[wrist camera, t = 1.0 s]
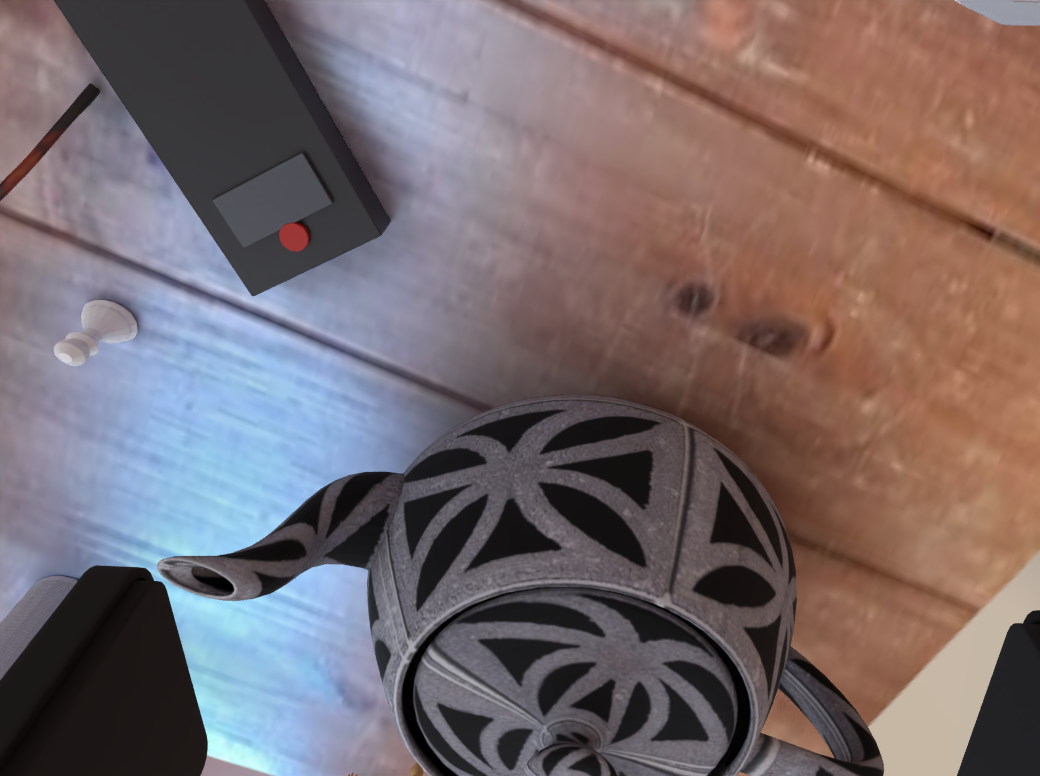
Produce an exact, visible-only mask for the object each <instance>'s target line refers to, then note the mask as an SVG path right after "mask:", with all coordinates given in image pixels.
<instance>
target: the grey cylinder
mask: <svg viewBox="0 0 1040 776" xmlns="http://www.w3.org/2000/svg"><path fill="white" fill-rule="evenodd" d="M77 581H78V580H76V579H74V578H69V577H65V576H49V577H46V578H43V579H40V580H39V581H37V582H36V583H35V584H34V585H33V586H32V587H31V588H30V590H29V591H28V592H27V593H26V594H25V595H24V597H23V598H22V599H21V600H20V601H19V602H18V604H17V605H16V606H15V607H14V608H13V610H12V611H11V612H10V613H9V614H8V615H7V617H6V618H5V619H4V620H3V621H2V622H1V624H0V680H1V679H2V677H3V676H4V675H5V673H6V672H7V671H8V670H9V668H10V667H11V666H12V665H13V663H14V662H15V661H16V659H17V658H18V657H19V656H20V654H21V653H22V652H23V650H24V649H25V648H26V647H27V645H28V644H29V643H30V642H31V640H32V639H33V638H34V636H35V635H36V634H37V633H38V631H39V630H40V629H41V627H42V626H43V625H44V624H45V622H46V621H47V620H48V618H49V617H50V616H51V615H52V613H53V612H54V611H55V610H56V608H57V607H58V606H59V604H60V603H61V602H62V601H63V599H64V598H65V597H66V595H67V594H68V593H69V592H70V590H71V589H72V588H73V587H74V585H75V584H76V583H77Z"/></svg>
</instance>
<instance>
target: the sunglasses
mask: <svg viewBox="0 0 1040 776" xmlns="http://www.w3.org/2000/svg"><path fill="white" fill-rule="evenodd" d="M99 92H100V91H99V89H98V88H96V87H95V86H94V85H93V84H89V85H88V86H87V87H86V88H85V89H84V90H83V92H82V93H81V94H80V95H79V96H78V98H77V99H76V100H75V101H74V102H73V104H72V105H71V106H70V107H69V109H68V110H67V111H66V112H65V113H64V114H63V115H62V117H61V118H60V119H59V120H58V121H57V122H56V124H55V125H54V126H53V127H52V128H51V129H50V131H49V132H48V133H47V134H46V135H45V136H44V137H43V139H42V140H41V141H40V142H39V143H38V144H37V146H36V147H35V148H34V149H33V150H32V151H31V153H30V154H29V155H28V156H27V157H26V158H25V159H24V160H23V161H22V162H21V163H20V164H19V165H18V166H17V167H16V168H15V169H14V170H13V171H12V172H11V173H10V174H9V175H8V176H7V177H6V178H5V180H4V181H3V182H2V183H1V184H0V201H1V200H2V199H3V198H4V197H5V196H6V195H7V194H8V193H9V192H10V191H11V190H12V189H13V188H14V187H15V186H16V185H17V184H18V183H19V182H20V181H21V180H22V179H23V178H24V177H25V176H26V175H27V174H28V173H29V172H30V171H31V169H32V168H33V167H34V166H35V165H36V164H37V163H38V162H39V161H40V159H41V158H42V157H43V156H44V155H45V154H46V152H47V151H48V150H49V149H50V148H51V147H52V145H53V144H54V143H55V142H56V141H57V140H58V139H59V137H60V136H61V135H62V134H63V133H64V132H65V130H66V129H67V128H68V127H69V126H70V125H71V123H72V122H73V121H74V120H75V119H76V118H77V117H78V116H79V115H80V114H81V113H82V112H83V111H84V110H85V109H86V108H87V107H88V106H89V105H90V104H91V103H92V102H93V101H94V99H95V98H96V97H97V96H98V95H99Z"/></svg>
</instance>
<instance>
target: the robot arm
mask: <svg viewBox="0 0 1040 776" xmlns="http://www.w3.org/2000/svg"><path fill="white" fill-rule="evenodd" d="M207 749H208V741H207V735H206V732H205V728H204V724H203V721H202V717H201V714H200V710H199V706H198V703H197V699H196V695H195V692H194V688H193V684H192V681H191V677H190V674H189V670H188V666H187V663H186V659H185V655H184V652H183V648H182V644H181V641H180V637H179V634H178V630H177V626H176V623H175V619H174V615H173V612H172V608H171V604H170V601H169V597H168V594H167V590H166V588H165V585H164V584H163V583H162V582H159V581H154V579H153V577H152V575H151V573H150V572H149V571H148V570H147V569H146V568H140V567H119V566H98V565H96V566H93V567H91V568H89V569H88V570H87V571H86V572H85V573H84V574H83V575H82V576H81V578H80V579H79V580H78V581H77V583H76V584H75V585H74V587H73V588H72V589H71V590H70V592H69V593H68V594H67V595H66V597H65V598H64V599H63V601H62V602H61V603H60V604H59V606H58V607H57V608H56V610H55V611H54V612H53V613H52V615H51V616H50V617H49V618H48V620H47V621H46V622H45V624H44V625H43V626H42V627H41V629H40V630H39V631H38V633H37V634H36V635H35V636H34V638H33V639H32V640H31V642H30V643H29V644H28V645H27V647H26V648H25V649H24V650H23V652H22V653H21V654H20V656H19V657H18V658H17V659H16V661H15V662H14V663H13V665H12V666H11V667H10V668H9V670H8V671H7V672H6V673H5V675H4V676H3V677H2V679H1V680H0V776H200V775H201V773H202V770H203V768H204V765H205V761H206V757H207ZM957 776H1040V610H1037V611H1032V612H1031V613H1030V614H1028V615H1027V617H1026V619H1025V620H1024V622H1023V624H1022V623H1015V624H1013V625H1012V626H1010V628H1009V630H1008V632H1007V635H1006V638H1005V641H1004V643H1003V646H1002V649H1001V652H1000V655H999V658H998V660H997V663H996V666H995V669H994V672H993V675H992V677H991V680H990V683H989V686H988V689H987V692H986V695H985V697H984V700H983V703H982V706H981V709H980V712H979V714H978V717H977V720H976V724H975V726H974V729H973V732H972V735H971V737H970V740H969V743H968V746H967V749H966V752H965V754H964V757H963V760H962V763H961V766H960V769H959V771H958V774H957Z"/></svg>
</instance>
